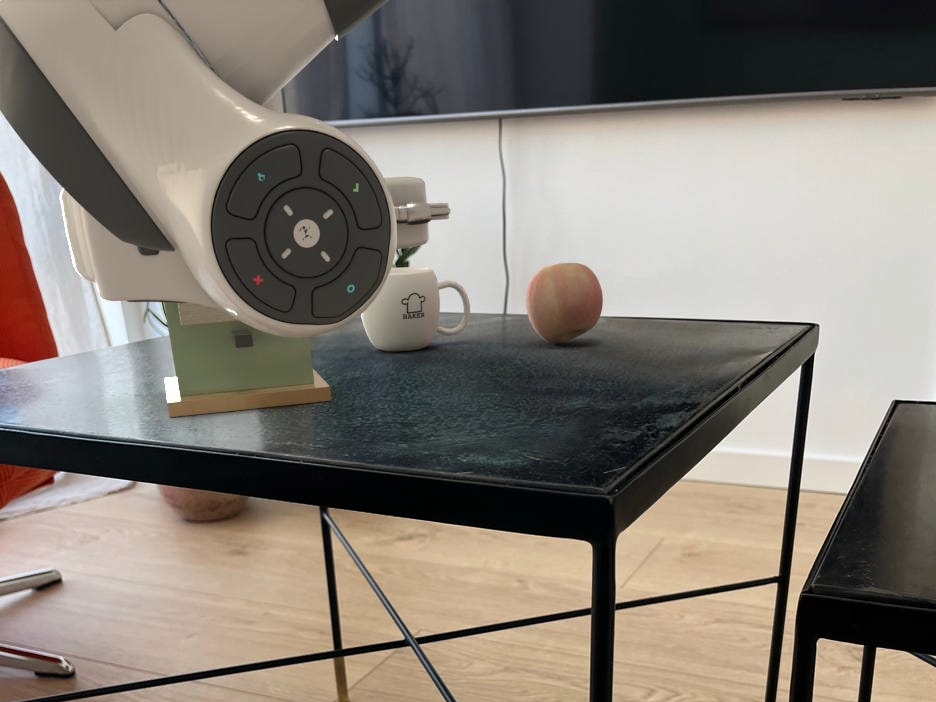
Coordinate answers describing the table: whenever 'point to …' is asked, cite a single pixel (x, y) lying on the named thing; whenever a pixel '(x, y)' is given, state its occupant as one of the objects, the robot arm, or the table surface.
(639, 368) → the table surface
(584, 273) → the apple
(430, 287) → the mug
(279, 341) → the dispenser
